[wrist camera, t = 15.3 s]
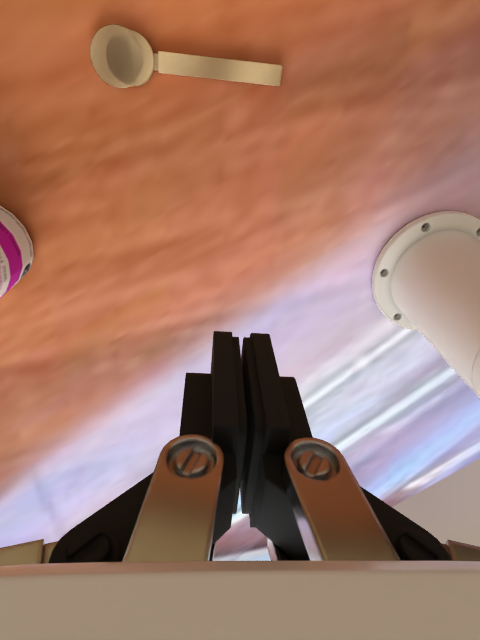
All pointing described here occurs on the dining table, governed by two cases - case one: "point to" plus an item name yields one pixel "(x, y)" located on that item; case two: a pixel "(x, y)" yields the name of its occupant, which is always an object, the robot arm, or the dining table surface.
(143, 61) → the spoon
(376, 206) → the dining table surface
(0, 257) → the supplement can
